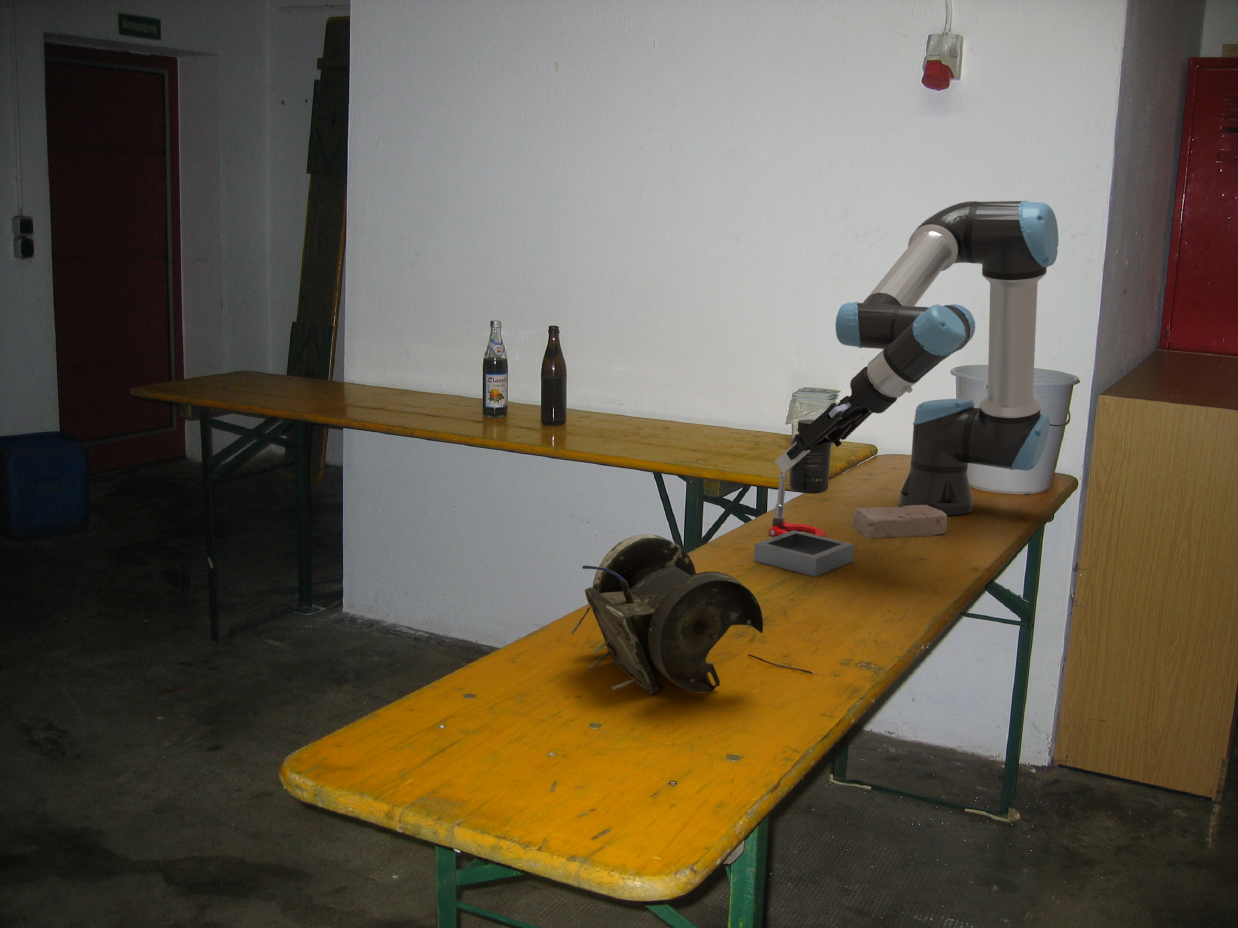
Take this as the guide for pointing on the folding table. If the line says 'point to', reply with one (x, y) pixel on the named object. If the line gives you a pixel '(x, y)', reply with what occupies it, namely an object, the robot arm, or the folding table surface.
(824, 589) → the folding table surface
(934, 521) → the brick
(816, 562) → the keeper tray
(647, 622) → the bench grinder
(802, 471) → the supplement bottle
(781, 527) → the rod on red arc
